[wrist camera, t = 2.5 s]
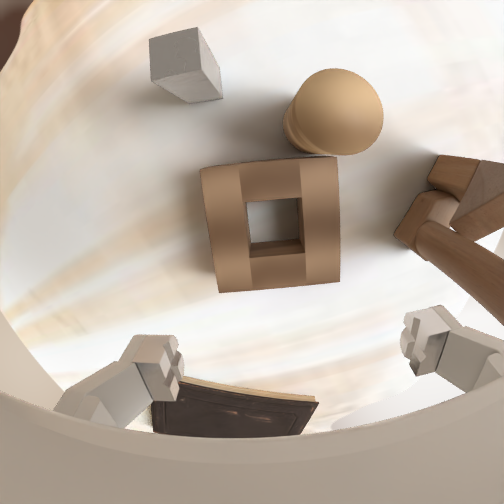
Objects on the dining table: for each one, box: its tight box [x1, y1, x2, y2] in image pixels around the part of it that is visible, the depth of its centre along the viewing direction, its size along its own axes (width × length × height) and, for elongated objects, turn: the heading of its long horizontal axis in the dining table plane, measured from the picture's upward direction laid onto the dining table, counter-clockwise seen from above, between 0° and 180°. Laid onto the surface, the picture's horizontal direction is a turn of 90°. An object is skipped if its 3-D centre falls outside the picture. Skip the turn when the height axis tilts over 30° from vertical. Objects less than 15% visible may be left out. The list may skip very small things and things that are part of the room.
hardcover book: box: [151, 376, 319, 438], centre depth 37 cm, size 16×23×2 cm
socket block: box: [200, 156, 340, 293], centre depth 25 cm, size 11×11×4 cm
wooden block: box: [394, 155, 504, 326], centre depth 17 cm, size 4×11×18 cm, turn 150°
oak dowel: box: [283, 68, 383, 155], centre depth 19 cm, size 6×6×10 cm
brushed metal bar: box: [149, 27, 223, 104], centre depth 18 cm, size 3×3×10 cm
